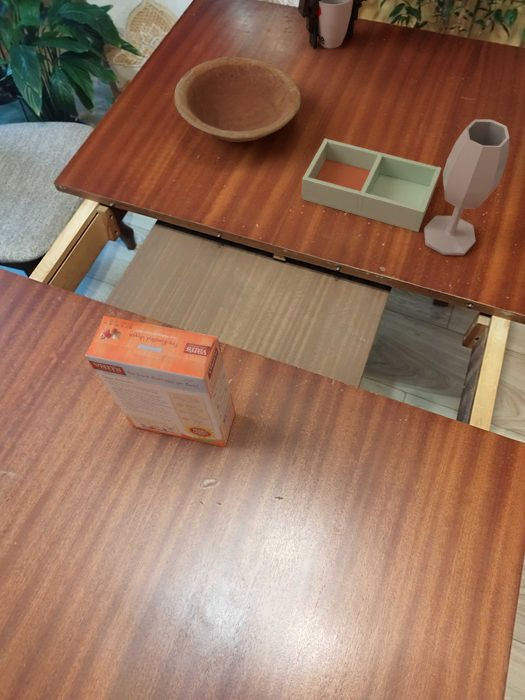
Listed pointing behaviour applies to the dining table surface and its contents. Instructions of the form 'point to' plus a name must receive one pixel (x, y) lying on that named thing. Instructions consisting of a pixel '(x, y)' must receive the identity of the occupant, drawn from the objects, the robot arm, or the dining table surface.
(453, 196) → the wineglass
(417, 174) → the divided tray
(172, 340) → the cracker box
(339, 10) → the cup
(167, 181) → the dining table surface
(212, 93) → the bowl
